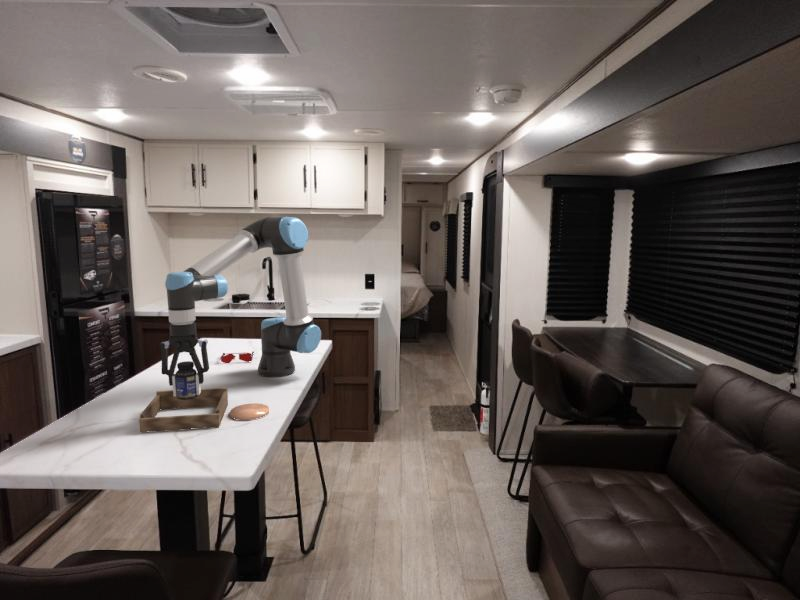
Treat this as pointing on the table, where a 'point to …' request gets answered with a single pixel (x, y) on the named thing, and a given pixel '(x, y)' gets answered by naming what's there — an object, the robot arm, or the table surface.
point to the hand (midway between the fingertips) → (187, 394)
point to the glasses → (230, 356)
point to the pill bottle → (186, 381)
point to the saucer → (249, 411)
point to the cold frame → (187, 421)
